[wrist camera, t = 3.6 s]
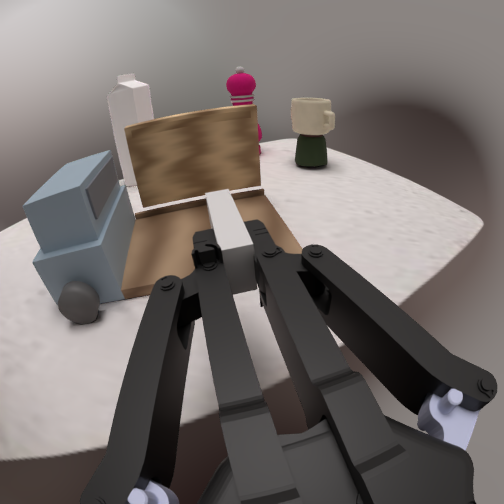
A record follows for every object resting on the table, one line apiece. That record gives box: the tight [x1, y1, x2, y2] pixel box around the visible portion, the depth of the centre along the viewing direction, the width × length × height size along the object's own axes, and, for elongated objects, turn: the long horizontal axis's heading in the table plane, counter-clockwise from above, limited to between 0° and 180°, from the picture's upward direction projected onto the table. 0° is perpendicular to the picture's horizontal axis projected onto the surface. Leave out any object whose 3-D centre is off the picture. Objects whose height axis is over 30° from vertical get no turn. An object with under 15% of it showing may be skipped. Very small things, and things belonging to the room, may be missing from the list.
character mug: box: [291, 98, 335, 167], centre depth 47 cm, size 11×7×13 cm, turn 33°
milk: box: [107, 73, 154, 187], centre depth 45 cm, size 6×6×22 cm
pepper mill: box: [226, 66, 262, 155], centre depth 53 cm, size 7×7×20 cm
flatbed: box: [121, 189, 303, 299], centre depth 31 cm, size 18×15×2 cm
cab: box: [23, 150, 135, 324], centre depth 26 cm, size 8×19×12 cm, turn 14°
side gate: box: [124, 104, 261, 208], centre depth 33 cm, size 16×2×11 cm, turn 104°
